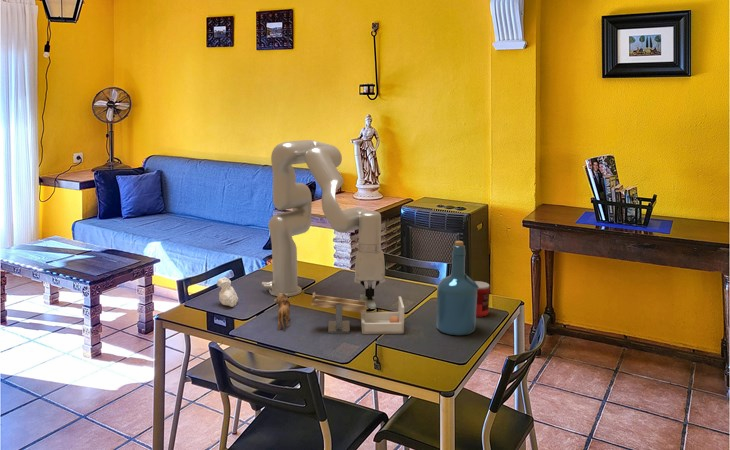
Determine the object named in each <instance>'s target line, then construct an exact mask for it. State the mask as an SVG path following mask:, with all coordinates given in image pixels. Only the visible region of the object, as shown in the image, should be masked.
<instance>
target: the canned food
mask: <svg viewBox="0 0 730 450" xmlns="http://www.w3.org/2000/svg"><path fill="white" fill-rule="evenodd" d="M473 281H474V282H475V283H476V284H477V285H478V286H479V289H478V290H477V308H476V318H484V317H483V316H485V317H486V315H487V316H488V314H489V304H490V284H489V283H487V282H486V281H485V282H484V281H481V280H480V281H478V280H473Z"/></svg>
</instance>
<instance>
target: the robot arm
mask: <svg viewBox="0 0 730 450" xmlns="http://www.w3.org/2000/svg"><path fill="white" fill-rule="evenodd" d="M270 155H271V156H270V158H271V159H270V161H271V162H270V163H271V167H272V204H273V205H274V208H275V209H277V210H280V211H285V212H281V213H276V214H275V215H273V216H272V217H271V218H270V219H269V221H268V232H269V236H270V241H271V254H272V255H271V257H272V258H271V260H272V280H270V281H262V282H261V287H263V288H264V289H268V290H269V291H268V292H269V294H270V295H271V296H274V297H278V296H279V294H280V293H284V294H285V295H286V296H287V297H288V298H289V297H295V296H298V295H300V294H301V293H302V291H303V290H302V287H300V286H299V285H298V252H297V251H298V250H297V248H298V247H297V245H296V242H295V241H294V239H293V237H294V236H299V235H303V234H305V233H307V232H308V231H309V230H310V228H311V224H312V208H313V207H312V202H313V201H312V192H311V190H310V188H309V186H308V185H307V184H305V183H303V182H296V180H297V178H296V177H297V176H296V171H295V168H294V167H293V165H299V164H306V166H307V167H308V169H309V171H310V173H311V174H312V176H313V177H314V180H315V181H316V183H317V184H318V186H319V187H320V190H321V192H322V194H321V207H322V208H321V210H322V213H323V215H324V216H325V218H326V220H327V222H328V223H329V225H330V226H331V227H332V229H333V230H334V231H335V232H337V233H340V234H342V233H347V232H352V231H357V230H358V243H354V249H358V250H357V251H356V255H355V264H354V283H355V284H361V285H362V287H363V288H365V294H364V295H365V296H366V297H367V298H368V300H369V299H371V300H372V297H374V298H375V288H376V287H377V286H378V285H379V284H383V283H386V278H385V276H386V267H385V255H384V254H385V253H384V251H383V250H382V215H381V213H380V212H379V211H376V210H368V209H365V208H362V207H353V208H347V209H342V208H341V206H340V204H339V203H338V201H337V197H336V194H337V193H336V192H337V190H339V189H340V188H341V187H342V186H343V184H344V178H343V176H342V175H341V173H340V171H339V169H338V167H339V166H340V165H341V164H342V160H343V157H342V154H341V151H340V149H339V148H337V146H334V145H333V144H329V143H325V142H320V141H317V140H312V139H305V140H304V139H303V140H289V141H283V142H281V143H278V144H277V145H275V147H274V148H273V149H272V151H271V154H270ZM286 210H291V211H286ZM369 282H371V284H370V285H369Z"/></svg>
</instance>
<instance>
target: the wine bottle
mask: <svg viewBox="0 0 730 450" xmlns="http://www.w3.org/2000/svg"><path fill="white" fill-rule="evenodd" d="M452 247H453V248H452V253H451V256H452V262H451V271H450V272H451V273H450V275H448V276H445V277H444V278H441V280H440V281H438V282H439V283H438V285H437V288H436V289H437V290H436V315H435V316H436V317H435V318H436V320H435V322H436V323H435V327H436V328H437V330H439V331H440V332H441V333H444V334H447V335H452V336H465V335H470V334H472V333H474V332H475V330H476V325H477V324H476V323H477V321H476V320H477V317H476V308H477V290H478V289H479V286H478V285H477V284H476V283H475V282H474V281H475V280H474V279H472V278H471V277H470V276H468V275H467V273H465V272H466V271H465V270H466V269H465V268H466V267H465V266H466V264H465V263H466V246H465V245H464V241H462V240H455V242H454V244H453V246H452Z"/></svg>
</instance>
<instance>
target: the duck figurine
mask: <svg viewBox="0 0 730 450" xmlns="http://www.w3.org/2000/svg"><path fill="white" fill-rule="evenodd" d="M231 283H232V281H231V280H230V279H229V278H227V277H225V276H223V277H220V278H218V280H217V282H216V286H217V287H220V288H221V290H220V291H219V292H218V295H219V299H218V300H219V302H220V303H221V305H223V306H229V307H234V306H237V304H238V302H239V297H238V294H237V292H236V290H235V288H234V287H233V286H231Z"/></svg>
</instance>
